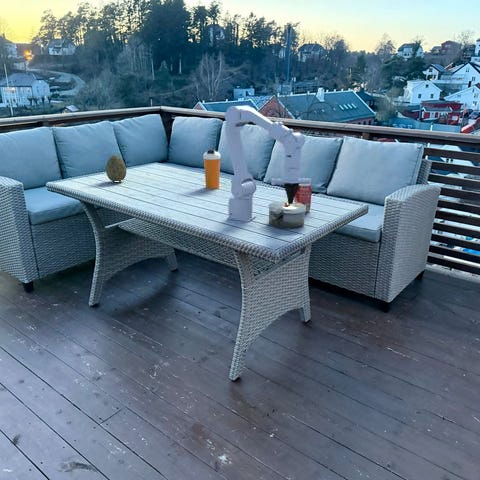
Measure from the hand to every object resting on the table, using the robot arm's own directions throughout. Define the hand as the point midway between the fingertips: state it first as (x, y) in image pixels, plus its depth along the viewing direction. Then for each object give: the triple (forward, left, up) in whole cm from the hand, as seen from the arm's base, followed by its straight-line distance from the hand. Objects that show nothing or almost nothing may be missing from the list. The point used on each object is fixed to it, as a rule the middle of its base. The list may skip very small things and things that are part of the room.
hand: (290, 203), depth 153 cm
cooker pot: (-3, +3, -10) cm, 11 cm away
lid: (-3, +3, -4) cm, 6 cm away
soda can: (-3, +25, -10) cm, 27 cm away
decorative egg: (-112, +30, -10) cm, 117 cm away
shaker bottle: (-59, +44, -10) cm, 74 cm away
